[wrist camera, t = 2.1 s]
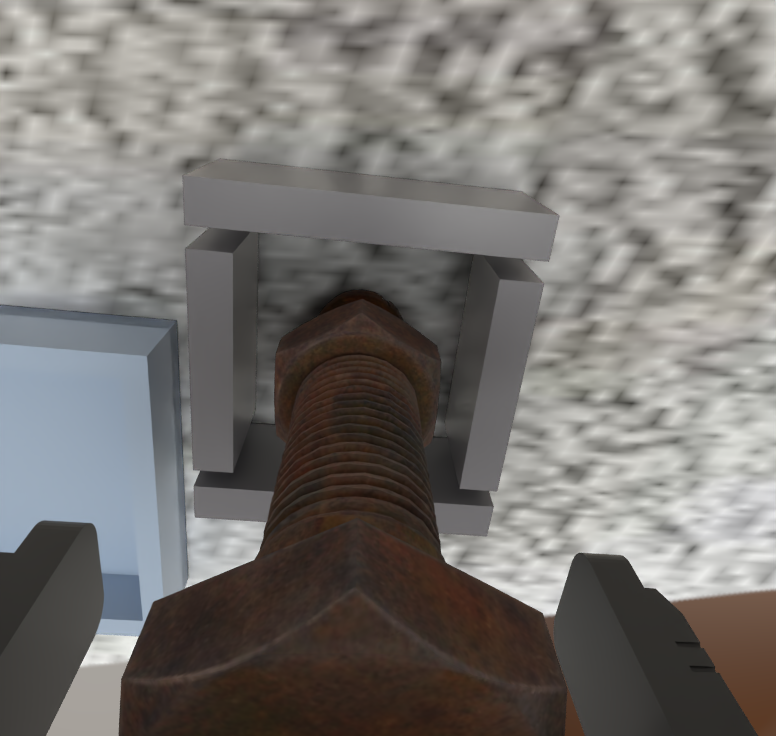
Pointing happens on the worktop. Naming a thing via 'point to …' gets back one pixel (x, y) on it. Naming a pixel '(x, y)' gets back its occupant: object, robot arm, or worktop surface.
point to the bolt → (347, 575)
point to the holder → (364, 225)
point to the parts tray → (96, 446)
